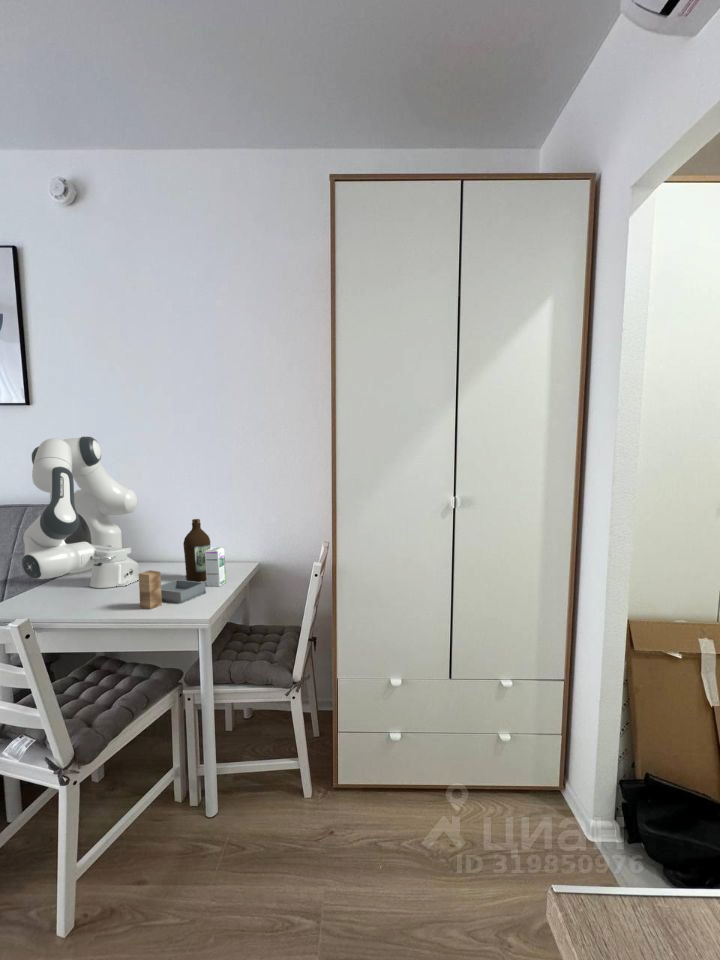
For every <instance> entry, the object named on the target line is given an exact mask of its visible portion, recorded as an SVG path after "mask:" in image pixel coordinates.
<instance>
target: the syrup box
mask: <svg viewBox="0 0 720 960" xmlns="http://www.w3.org/2000/svg"><path fill="white" fill-rule="evenodd" d="M225 559H226V558H225V548H224V547H219V546H217V547H210V549H208V550H206V551H205V562H206V581H205V582H206V586H207V587H214V586H215V587H214V588H216V587H217V588H218V587H220V588H221V586H222V585H225V584H226V583H227V580H226V579H227V577H226V560H225Z"/></svg>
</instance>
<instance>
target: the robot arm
mask: <svg viewBox="0 0 720 960" xmlns="http://www.w3.org/2000/svg"><path fill="white" fill-rule="evenodd" d="M99 444H100V443H99V442H98V441H97V439H95V438H94V437H92V436H81V437H75V438H74V437H73V438H67V439H65V438H64V439H60V438H57V437H56V438H54V437H53V438H52V437H51V438H47V439H45V440H43V441H42V442H41V443H40V444H39V445H38V446H37V447H35V448H34V449H33V450H32V453H31V462H32V473H31V478H32V482H33V485H34V486H35V487H36V488H37V489H38V490H40V491H42V492H45V493H48V494H50V495H49V496H50V497H49V498H50V499H49V503H48V505H47V507H45V509H44V510H43V512H42V513H41V514H39V516H38V517H37V518H36V519H35V520H34V521H33V522H32V523H31V524H30V525H29V526H28V527H27V528H26V530H24V532H23V535H22V543H23V545H24V555H23V557H22V559H21V566H22V569H23V571H24V573H25V574H26V575H27V576H28V577H29V578H32V579H35V580H45V579H52V578H59V577H62V576H64V575H66V574H75V573H81V572H84V571H89V570H91V574H90V575H91V576H90V581H89V587H91V588H94V589H106V588H115V587H116V586H117V587H126V586H125V585H127V586H129V585H131V584H133V583H132V582H134V583H136V582H138V581H139V573H141V568H140V567H141V566H140V565H139V563H138V562H137V561H136V560H134V559H132V558H130V557H129V556H128V554H129V555H130V554H131V553H132V547H126V546H125V547H123V539H122V537H123V536H122V529H121V528H120V526H119V525H117V524H115V523H113V522H112V521H111V520H110V518H109V516H123V515H126V514H127V515H128V514H132V513H133V512H134V511H135V510H136V508H137V506H138V503H139V501H138V496H137V494H136V492H135V491H134V490H133V489H131V488H129V487H126V486H124V485H122V484H120V483H119V482H118V481H116V479H114V478H112V476H111V475H110V474H109V473H108V472H107V470H106V469H105V467H104V466H103V463H102V462H101V459H102V450H101V446H100V445H99ZM74 482H75V483H76V485H77V486H78V488H79V489H78V490H76V491H75V485H74V484H75V483H74ZM80 517H82V519H83V520H84V521H85V523H86V525H87V527H88V530H89V534H90V539H91V540H90V541H91V543H89V542H87V541H80V542H79V541H78V542H74V543H66V542H65V540H66V539H67V538H68V537H70V536H71V535H72V534H74V533H75V532H76V531H77V530H78V528H79V526H80ZM137 580H138V581H137ZM135 581H136V582H135ZM130 583H131V584H130ZM128 584H129V585H128Z"/></svg>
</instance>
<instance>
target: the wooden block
mask: <svg viewBox="0 0 720 960" xmlns="http://www.w3.org/2000/svg"><path fill="white" fill-rule="evenodd" d="M161 577H162V576H161V571H158V570H157V571H156V570H147V571H142V572H140V573H139V580H138V586H139V589H138V590H139V606H140V607H141V608H142V609H146V610H152V609H155V608H159V607H161V606H163V601H162V597H161V585H162V579H161ZM158 606H159V607H158ZM140 607H139V608H140Z"/></svg>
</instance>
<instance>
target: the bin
mask: <svg viewBox="0 0 720 960" xmlns="http://www.w3.org/2000/svg"><path fill="white" fill-rule="evenodd" d="M206 586H207V584H206V582H204V581H202V582H194V581H187V579H186V580H185V579H184V580H183V579H175V580H172V581H168V582H166V583H163V584H161V597H162V602H167V603H173V602H174V603H175V604H180V603H181V604H184V603H186V602H188V601H191V600H193V599H195V597H196V598H197V596H198V597H200V596H202V594H203V595H205V594H207V590H206V589H207V588H206ZM192 598H193V599H192ZM190 599H191V600H190ZM185 601H186V602H185ZM183 602H184V603H183Z"/></svg>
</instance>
